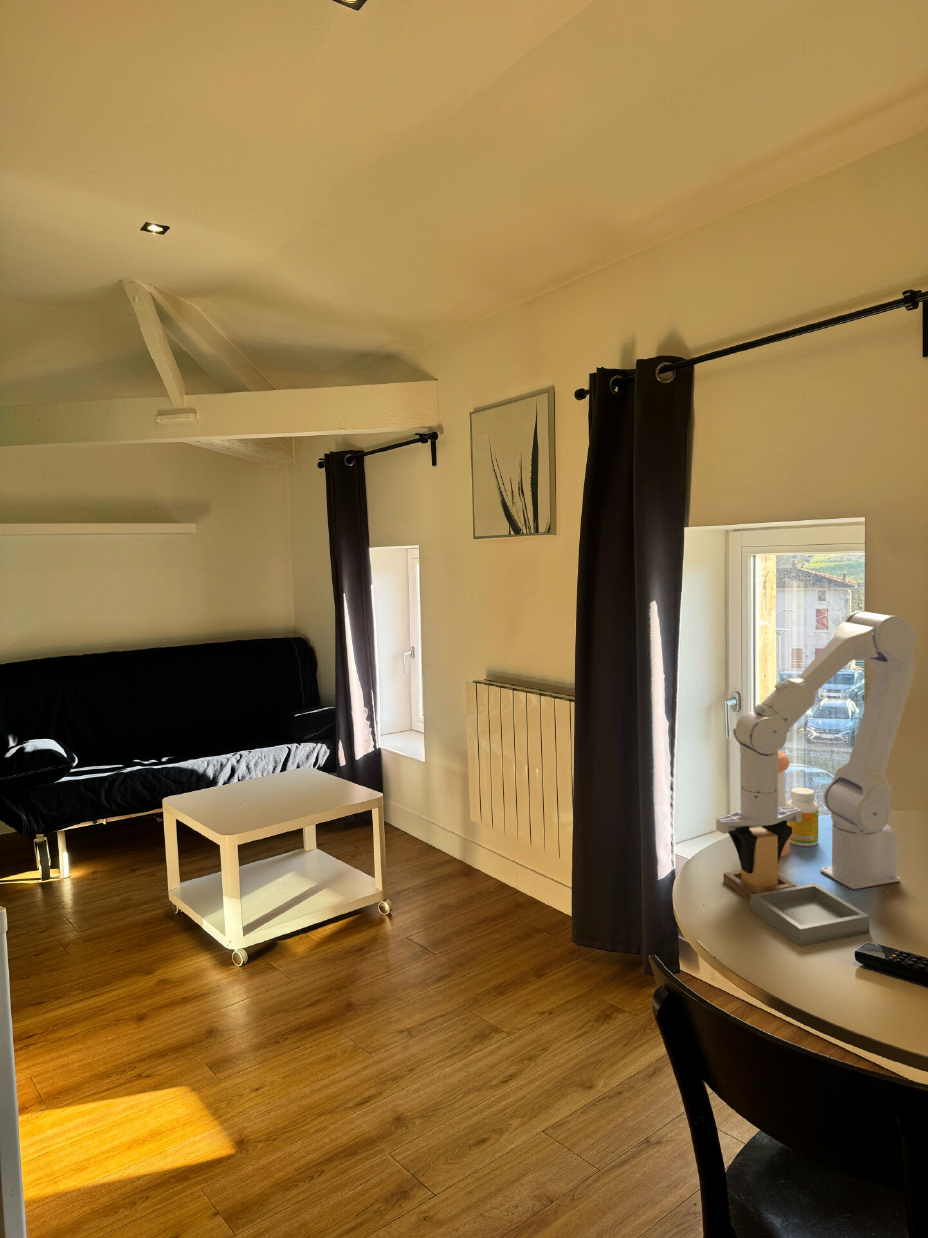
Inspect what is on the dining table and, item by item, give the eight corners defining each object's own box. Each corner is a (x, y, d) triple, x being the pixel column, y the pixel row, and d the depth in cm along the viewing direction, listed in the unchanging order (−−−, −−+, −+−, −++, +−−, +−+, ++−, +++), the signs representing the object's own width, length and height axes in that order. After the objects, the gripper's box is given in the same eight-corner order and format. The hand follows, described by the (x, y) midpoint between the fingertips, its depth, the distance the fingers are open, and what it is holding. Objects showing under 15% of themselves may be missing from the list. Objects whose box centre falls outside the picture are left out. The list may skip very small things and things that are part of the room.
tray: (815, 898, 129) (815, 883, 129) (869, 932, 118) (869, 916, 118) (750, 910, 126) (750, 894, 126) (800, 946, 115) (800, 929, 115)
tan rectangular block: (762, 879, 136) (762, 827, 135) (777, 889, 132) (777, 835, 131) (741, 883, 135) (741, 830, 134) (756, 893, 131) (755, 839, 130)
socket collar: (765, 874, 139) (765, 866, 138) (796, 894, 131) (796, 885, 131) (723, 881, 137) (723, 873, 136) (752, 902, 129) (752, 893, 129)
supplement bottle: (821, 847, 149) (821, 795, 148) (789, 846, 150) (790, 795, 149) (814, 836, 154) (815, 786, 153) (784, 835, 155) (784, 785, 154)
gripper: (782, 775, 138) (782, 853, 139) (705, 786, 134) (706, 866, 135) (810, 787, 131) (809, 869, 132) (730, 799, 127) (730, 883, 129)
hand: (759, 869), depth 133 cm, fingers closed on tan rectangular block, 4 cm apart
